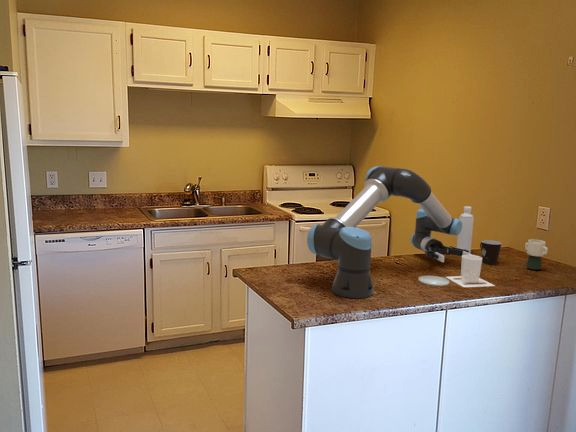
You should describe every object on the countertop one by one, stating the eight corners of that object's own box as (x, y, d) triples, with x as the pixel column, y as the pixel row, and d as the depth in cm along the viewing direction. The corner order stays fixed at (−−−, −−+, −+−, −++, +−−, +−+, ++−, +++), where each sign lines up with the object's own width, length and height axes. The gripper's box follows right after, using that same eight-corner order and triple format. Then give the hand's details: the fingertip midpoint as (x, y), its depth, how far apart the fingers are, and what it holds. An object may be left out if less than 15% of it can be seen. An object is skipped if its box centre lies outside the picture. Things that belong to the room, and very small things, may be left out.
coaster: (427, 286, 200) (427, 285, 200) (413, 277, 212) (413, 276, 212) (455, 285, 203) (455, 283, 203) (439, 276, 215) (439, 275, 215)
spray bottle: (455, 250, 261) (459, 202, 256) (468, 251, 260) (473, 203, 256) (457, 254, 254) (462, 204, 250) (471, 255, 253) (476, 205, 249)
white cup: (456, 280, 209) (458, 256, 207) (464, 276, 215) (466, 253, 213) (475, 285, 204) (477, 260, 202) (483, 281, 209) (485, 257, 208)
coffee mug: (500, 266, 234) (503, 245, 232) (481, 264, 236) (483, 243, 234) (496, 260, 245) (498, 239, 244) (477, 258, 247) (479, 238, 245)
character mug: (549, 271, 229) (553, 243, 226) (539, 273, 225) (543, 244, 223) (527, 265, 238) (531, 237, 236) (517, 266, 234) (521, 239, 232)
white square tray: (464, 287, 201) (464, 287, 201) (445, 277, 214) (445, 276, 214) (495, 286, 204) (495, 285, 204) (474, 275, 218) (474, 275, 217)
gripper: (455, 253, 242) (482, 266, 221) (407, 255, 235) (430, 268, 215) (457, 238, 240) (484, 249, 220) (408, 239, 234) (431, 250, 214)
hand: (457, 258), depth 218 cm, fingers open, 13 cm apart
